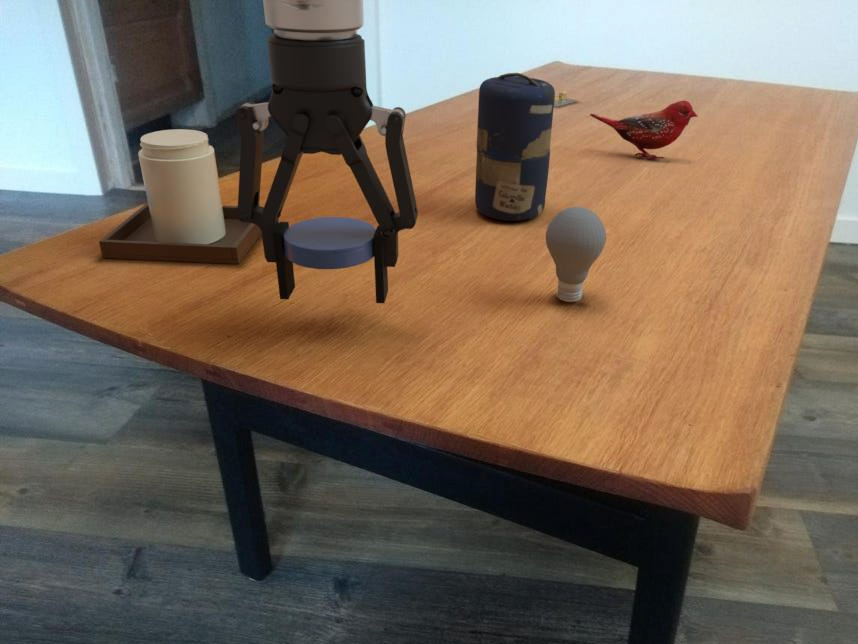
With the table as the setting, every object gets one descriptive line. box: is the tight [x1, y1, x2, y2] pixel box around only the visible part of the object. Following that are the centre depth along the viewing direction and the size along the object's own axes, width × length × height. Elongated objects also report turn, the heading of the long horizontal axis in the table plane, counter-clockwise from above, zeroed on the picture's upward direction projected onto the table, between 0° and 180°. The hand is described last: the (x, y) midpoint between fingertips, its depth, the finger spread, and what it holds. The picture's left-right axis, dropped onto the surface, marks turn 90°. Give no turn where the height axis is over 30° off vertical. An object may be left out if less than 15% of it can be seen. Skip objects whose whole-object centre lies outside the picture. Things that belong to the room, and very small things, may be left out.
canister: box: [474, 72, 556, 222], centre depth 96 cm, size 10×10×18 cm
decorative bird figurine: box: [589, 100, 698, 160], centre depth 125 cm, size 3×18×10 cm, turn 70°
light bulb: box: [545, 206, 607, 303], centre depth 76 cm, size 6×6×10 cm
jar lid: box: [283, 216, 376, 270], centre depth 67 cm, size 8×8×2 cm
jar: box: [137, 128, 226, 244], centre depth 86 cm, size 8×8×12 cm
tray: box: [98, 201, 262, 265], centre depth 88 cm, size 15×13×2 cm
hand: (334, 294), depth 70 cm, fingers closed on jar lid, 8 cm apart
